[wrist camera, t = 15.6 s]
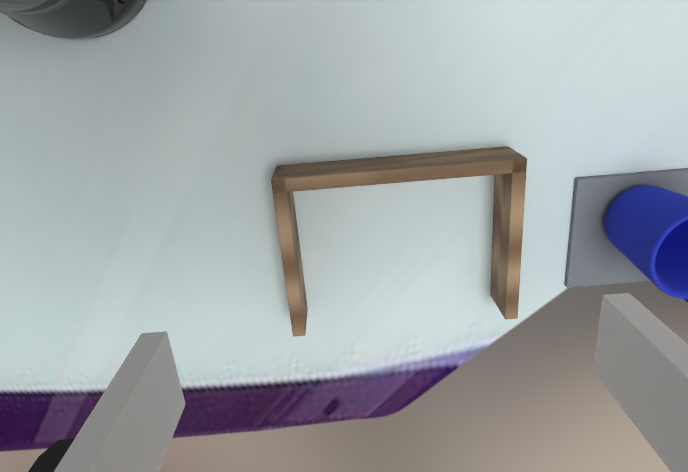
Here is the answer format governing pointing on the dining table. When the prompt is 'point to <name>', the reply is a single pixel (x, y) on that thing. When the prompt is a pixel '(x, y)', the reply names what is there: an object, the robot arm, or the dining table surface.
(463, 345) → the dining table surface
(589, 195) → the mat
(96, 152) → the dining table surface
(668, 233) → the mug
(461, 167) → the wooden u-shaped frame
